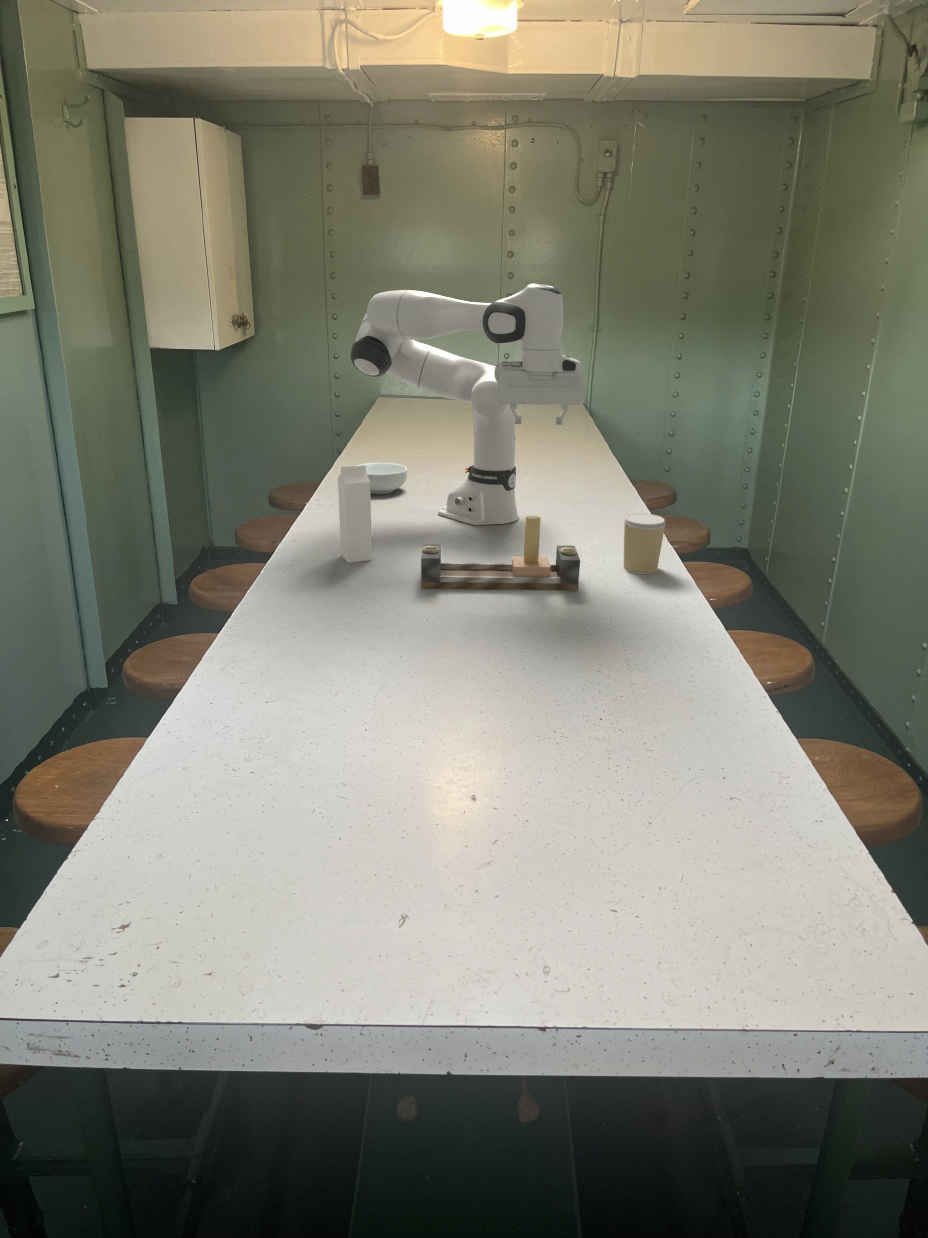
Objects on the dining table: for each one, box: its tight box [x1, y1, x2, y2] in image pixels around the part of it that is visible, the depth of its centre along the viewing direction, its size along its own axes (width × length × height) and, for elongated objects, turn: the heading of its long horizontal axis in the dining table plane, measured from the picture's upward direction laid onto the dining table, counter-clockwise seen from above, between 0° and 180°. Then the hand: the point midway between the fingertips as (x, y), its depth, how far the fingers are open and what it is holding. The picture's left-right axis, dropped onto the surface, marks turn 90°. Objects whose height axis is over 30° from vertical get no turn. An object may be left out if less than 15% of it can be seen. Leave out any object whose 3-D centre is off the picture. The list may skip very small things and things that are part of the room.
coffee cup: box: [623, 513, 667, 575], centre depth 202 cm, size 9×9×12 cm
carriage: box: [511, 515, 551, 577], centre depth 191 cm, size 8×7×13 cm
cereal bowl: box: [356, 462, 408, 495], centre depth 265 cm, size 17×17×7 cm
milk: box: [337, 465, 373, 564], centre depth 204 cm, size 6×6×22 cm
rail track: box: [420, 543, 581, 592], centre depth 193 cm, size 34×10×8 cm, turn 90°
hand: (538, 424), depth 201 cm, fingers open, 8 cm apart
